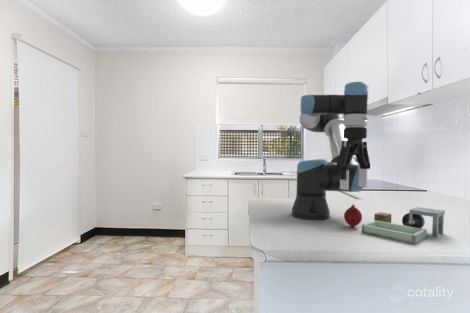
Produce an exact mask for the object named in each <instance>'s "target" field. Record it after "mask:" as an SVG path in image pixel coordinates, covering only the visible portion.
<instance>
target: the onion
mask: <svg viewBox="0 0 470 313" xmlns="http://www.w3.org/2000/svg"><path fill="white" fill-rule="evenodd" d="M343 219H344V220H345V223H346V224H347V225H348V226H350V228H355V227H356V226H358V225H359V224H360V223H361V222H362V220H363V215H362V212H361V211H360V210H359V209H358V208H357V207H356V205H355V204H353V203H352V204H351V206H350V207H348V208H347V209H346V210H345V212H344V214H343Z"/></svg>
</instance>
